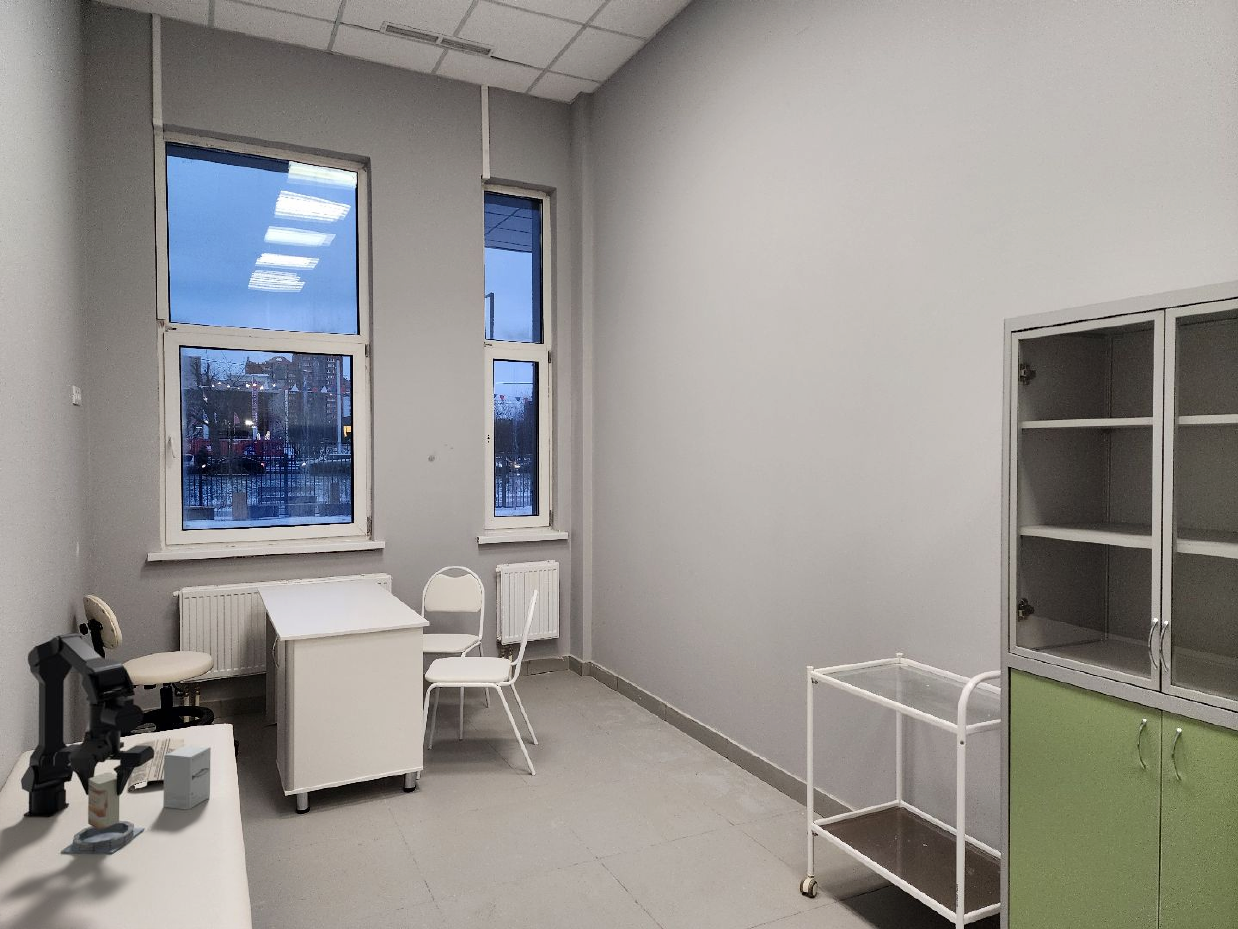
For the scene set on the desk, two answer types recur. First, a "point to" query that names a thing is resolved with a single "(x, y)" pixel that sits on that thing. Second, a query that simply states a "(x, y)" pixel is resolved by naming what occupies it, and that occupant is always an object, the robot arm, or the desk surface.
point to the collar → (103, 839)
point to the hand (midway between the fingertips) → (104, 794)
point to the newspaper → (154, 761)
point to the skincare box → (103, 801)
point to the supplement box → (186, 777)
